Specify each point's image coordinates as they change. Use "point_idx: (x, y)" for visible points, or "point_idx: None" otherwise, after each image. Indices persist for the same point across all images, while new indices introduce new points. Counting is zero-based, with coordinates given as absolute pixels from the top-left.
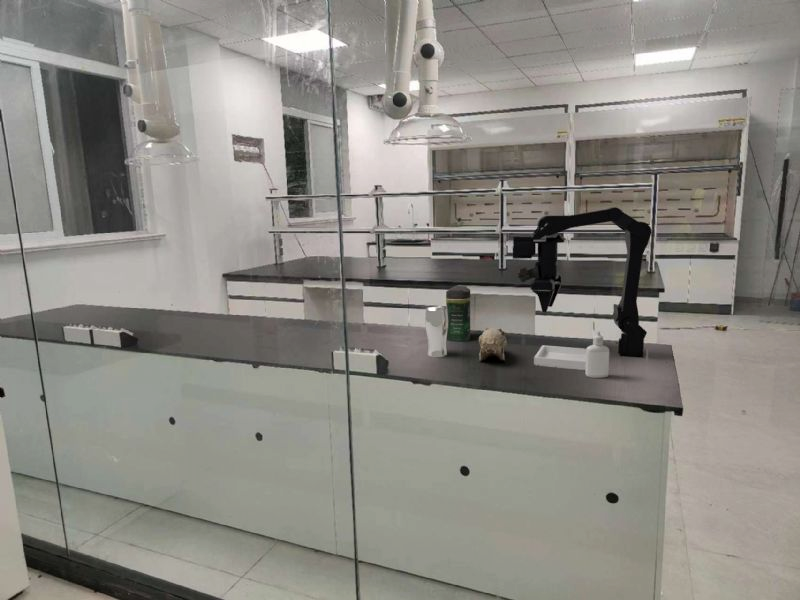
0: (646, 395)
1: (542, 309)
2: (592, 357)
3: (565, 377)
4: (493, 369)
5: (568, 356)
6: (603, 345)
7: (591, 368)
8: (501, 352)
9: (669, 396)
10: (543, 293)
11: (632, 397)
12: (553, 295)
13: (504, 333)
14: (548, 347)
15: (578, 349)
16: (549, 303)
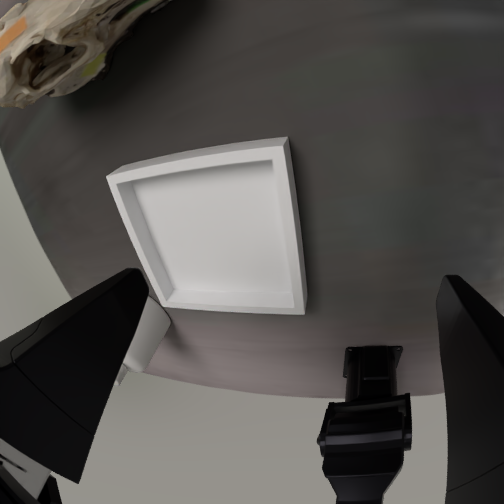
0: None
1: (110, 283)
2: None
3: (103, 257)
4: None
5: (253, 245)
6: (128, 370)
7: None
8: (45, 94)
9: (144, 370)
10: (19, 407)
11: None
12: (460, 423)
13: (68, 42)
14: (275, 174)
15: (291, 282)
16: (112, 368)
